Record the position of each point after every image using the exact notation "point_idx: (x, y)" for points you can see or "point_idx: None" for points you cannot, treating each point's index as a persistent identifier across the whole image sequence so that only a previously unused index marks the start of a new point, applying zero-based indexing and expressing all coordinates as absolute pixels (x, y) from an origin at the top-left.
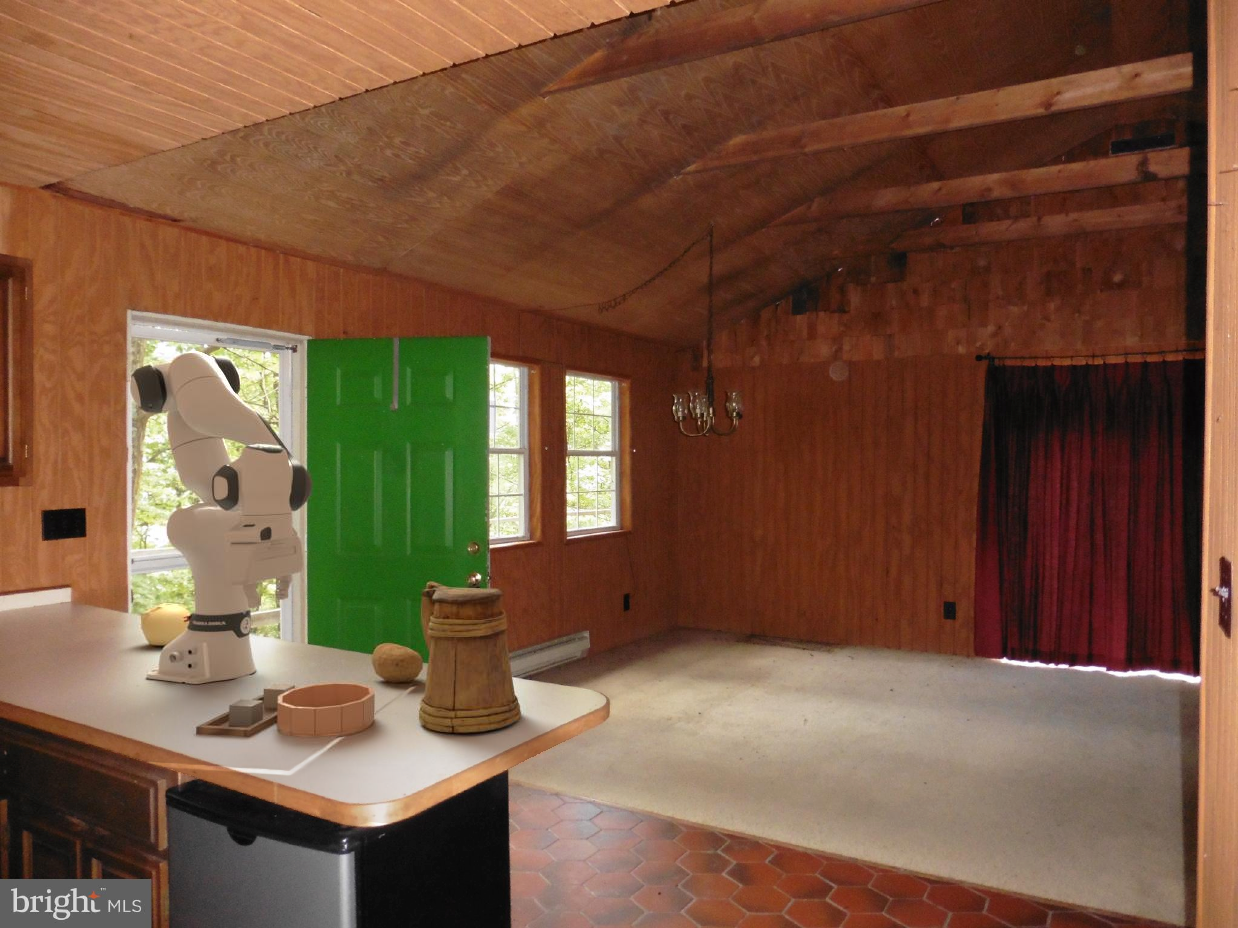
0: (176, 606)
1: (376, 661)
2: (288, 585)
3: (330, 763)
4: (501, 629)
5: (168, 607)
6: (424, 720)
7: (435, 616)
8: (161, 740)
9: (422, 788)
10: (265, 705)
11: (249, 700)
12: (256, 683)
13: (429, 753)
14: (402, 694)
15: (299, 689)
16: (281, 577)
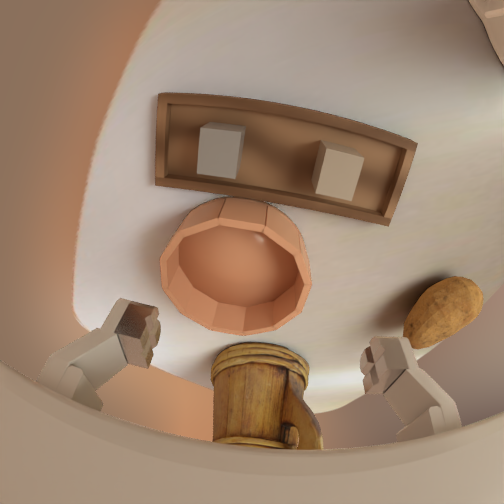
0: None
1: (443, 296)
2: (397, 409)
3: (121, 289)
4: None
5: None
6: (228, 352)
7: None
8: (148, 50)
9: None
10: (320, 144)
11: (235, 152)
12: (478, 90)
13: (167, 348)
14: (373, 310)
15: (270, 237)
16: (418, 433)
